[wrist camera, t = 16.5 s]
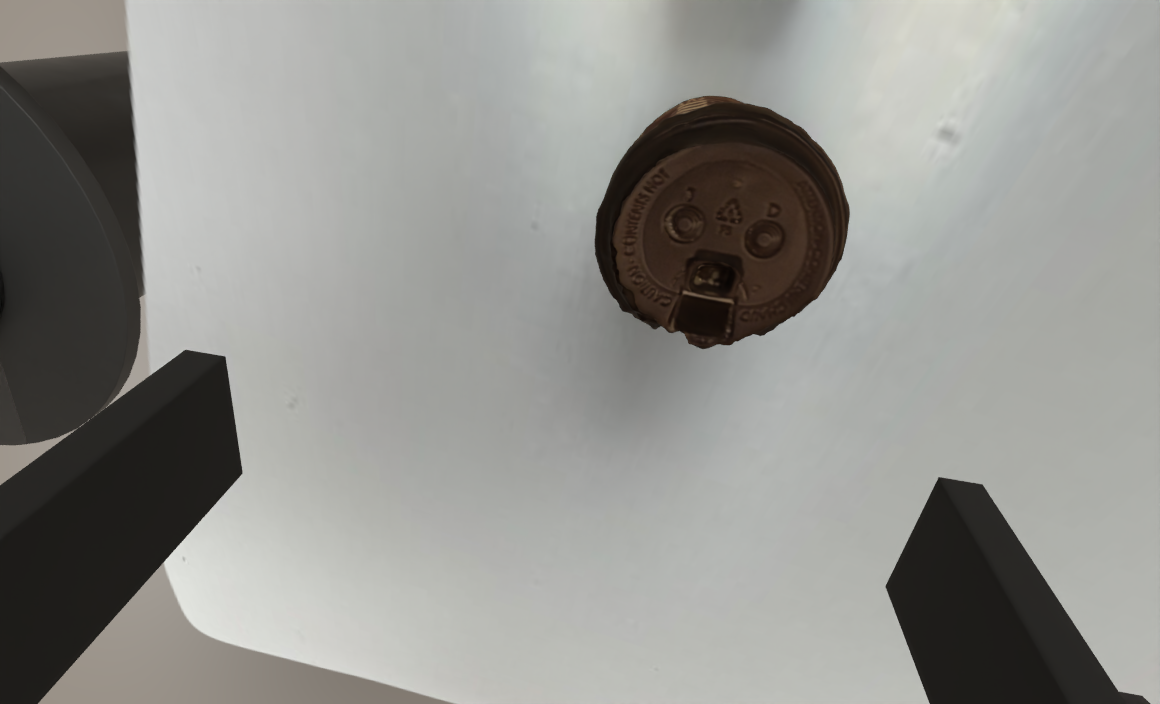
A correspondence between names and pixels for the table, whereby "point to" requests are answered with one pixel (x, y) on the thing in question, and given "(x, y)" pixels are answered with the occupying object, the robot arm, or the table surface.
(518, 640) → the table surface
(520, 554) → the table surface
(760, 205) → the coffee cup
